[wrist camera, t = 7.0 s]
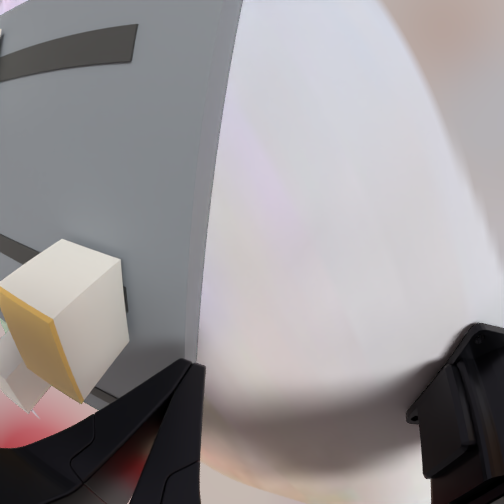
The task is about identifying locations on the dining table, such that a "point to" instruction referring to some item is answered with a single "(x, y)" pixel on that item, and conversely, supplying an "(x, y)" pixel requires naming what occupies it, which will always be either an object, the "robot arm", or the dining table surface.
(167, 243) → the panel
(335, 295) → the dining table surface
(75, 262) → the block
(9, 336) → the block
